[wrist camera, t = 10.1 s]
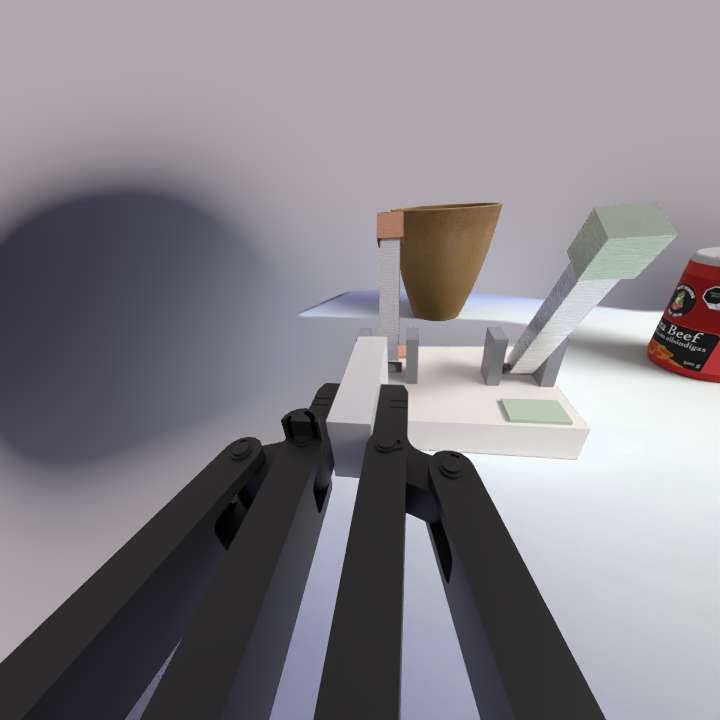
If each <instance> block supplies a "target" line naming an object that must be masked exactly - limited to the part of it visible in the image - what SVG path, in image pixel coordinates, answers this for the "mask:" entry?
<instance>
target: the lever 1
mask: <svg viewBox="0 0 720 720" xmlns="http://www.w3.org/2000/svg"><path fill="white" fill-rule="evenodd" d="M377 241H378V246H379V248H380V289H379V337H387V357H388V361H399V307H400V247H403V243H404V214H403V211H395V212H384V213H377ZM388 372H393V373H402V362H388Z"/></svg>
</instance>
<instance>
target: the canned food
mask: <svg viewBox="0 0 720 720" xmlns="http://www.w3.org/2000/svg"><path fill="white" fill-rule="evenodd" d="M647 353H648V357H649V358H650V359H651V360H652V361H653V362H654V363H656V364H657V365H659V366H661V367H663V368H665V369H667V370H669V371H672V372H675V373H678V374H681V375H684V376H687V377H691V378H695V379H700V380H705V381H711V382H719V383H720V247H718V248H717V247H716V248H706V249H701V250H697V251H695V253H694V254H693V256H692V257H691V259H690V261H689V263H688V265H687V267H686V269H685V270H684V272H683V274H682V276H681V278H680V280H679V283H678V285H677V287H676V289H675V291H674V293H673V295H672V297H671V299H670V301H669V303H668V306H667V307H666V310H665V311H664V314H663V316H662V318H661V320H660V322H659V324H658V326H657V328H656V330H655V332H654V334H653V336H652V338H651V340H650V343H649V345H648V352H647Z"/></svg>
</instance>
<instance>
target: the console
mask: <svg viewBox="0 0 720 720" xmlns="http://www.w3.org/2000/svg"><path fill="white" fill-rule="evenodd" d="M358 337H372V336H371V328H360V330H359V333H358V336H357V338H356V342H357V339H358ZM568 341H569V339H568V338H567V337H566V338H565V339H564V340H563V341H562V342H561V344H560V345H559V346H558V347H557V348H556V349H555V350H554V351H553V352H552V353H551V354H550V355H549V356H548V358H547V359H546V360H545V361H544V362H543V363H542V364H541V365H540V366H539V367H538V368H537V369H536V371H535V372H534V374H533V375H504V374H501V373H502V369H503V364H504V363H507V357H508V356H509V354H510V353H511V351H512V350H513V348H514V347H507V345H508V338H507V337H506V335H505V334H504V332H503V331H502V329H501V328H500V327H488V328H487V333H486V339H485V346H484V347H418V346H419V337H418V328H407V332H406V345H403V346H402V345H399V361H388V362H402V373H393V372H388V384H391V385H404V386H405V388H406V389H407V391H408V440H409V442H410V443H411V445H412V446H413V447H414V448H416V449H418V450H434V451H443V450H450V451H455V452H466V453H481V454H497V455H513V456H529V457H544V458H560V459H576V460H577V458H578V456H579V454H580V451H581V449H582V447H583V445H584V443H585V440H586V438H587V436H588V434H589V431H590V428H589V427H588V425H587V424H586V423H585V421H584V420H583V419H582V417H581V416H580V415H579V413H578V412H577V411H576V410H575V408H574V407H573V406H572V404H571V403H570V402H569V400H568V399H567V398H566V397H565V395H564V394H563V393H562V391H561V390H560V389H559V387H558V386H557V385H556V383H555V381H556V378H557V374H558V371H559V368H560V365H561V362H562V359H563V356H564V353H565V350H566V347H567V344H568Z"/></svg>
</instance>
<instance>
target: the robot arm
mask: <svg viewBox="0 0 720 720" xmlns="http://www.w3.org/2000/svg"><path fill="white" fill-rule="evenodd" d="M281 422H282V426H283V429H284V433H285V436H286V439H285V441H283V442H279V443H275V444H270V445H264V446H262V445H261V443H260V440H258V439H256V438H252V437H246V438H241V439H239V440H236V441H234V442H233V443H231V444H230V445H229V446H227V447H226V448H225V449H224V450H223V451H222V452H221V453H220V454H219V455H218V456H217V457H216V458H215V459H214V460H213V461H212V462H210V463H209V465H207V466H206V467H205V468H204V469H203V470H202V471H201V472H200V473H199V474H198V475H197V476H196V477H195V478H194V479H193V480H192V481H191V482H190V483H189V484H187V485H186V486H185V487H184V488H183V489H182V490H181V491H180V492H179V493H178V494H177V495H176V496H175V497H174V498H173V499H172V500H171V501H170V502H169V503H168V504H167V505H166V506H164V507H163V508H162V509H161V510H160V511H159V512H158V513H157V514H156V515H155V516H154V517H153V518H152V519H151V520H150V521H149V522H148V523H147V524H146V525H145V526H144V527H143V528H141V529H140V530H139V531H138V532H137V533H136V534H135V535H134V536H133V537H132V538H131V539H130V540H129V541H128V542H127V543H126V544H125V545H124V546H123V547H122V548H121V549H120V550H118V551H117V552H116V553H115V554H114V555H113V556H112V557H111V558H110V559H109V560H108V561H107V562H106V563H105V564H104V565H103V566H102V567H101V568H100V569H99V570H98V571H97V572H96V573H94V574H93V575H92V576H91V577H90V578H89V579H88V580H87V581H86V582H85V583H84V584H83V585H82V586H81V587H80V588H79V589H78V590H77V591H76V592H75V593H74V594H72V595H71V596H70V597H69V598H68V599H67V600H66V601H65V602H64V603H63V604H62V605H61V606H60V607H59V608H58V609H57V610H56V611H55V612H54V613H53V614H52V615H51V616H49V617H48V619H46V620H45V621H44V622H43V623H42V624H41V625H40V626H39V627H38V628H37V629H36V630H35V631H34V632H33V633H32V634H31V635H30V636H29V637H28V638H26V639H25V640H24V641H23V642H22V643H21V644H20V645H19V646H18V647H17V648H16V649H15V650H14V651H13V652H12V653H11V654H10V655H9V656H8V657H7V658H6V659H5V660H4V661H2V662H1V663H0V720H125V718H126V717H127V715H128V714H129V712H130V711H131V710H132V708H133V707H134V705H135V704H136V703H137V701H138V700H139V698H140V697H141V695H142V694H143V693H144V691H145V690H146V688H147V687H148V685H149V684H150V683H151V681H152V680H153V678H154V677H155V675H156V674H157V673H158V671H159V670H160V668H161V667H162V666H163V664H164V663H165V661H166V660H167V658H168V657H169V656H170V654H171V653H172V651H173V650H174V648H175V647H176V646H177V644H178V643H179V641H180V640H181V638H182V637H183V638H182V640H181V642H180V643H179V645H178V647H177V649H176V651H175V653H174V655H173V657H172V659H171V661H170V663H169V665H168V667H167V669H166V670H165V672H164V674H163V676H162V678H161V680H160V682H159V684H158V686H157V688H156V690H155V692H154V694H153V696H152V697H151V699H150V701H149V703H148V705H147V707H146V709H145V711H144V713H143V715H142V717H141V719H140V720H269V718H270V714H271V711H272V707H273V703H274V700H275V696H276V692H277V689H278V685H279V681H280V678H281V674H282V670H283V667H284V663H285V659H286V656H287V652H288V648H289V645H290V641H291V637H292V634H293V630H294V626H295V623H296V619H297V615H298V612H299V608H300V604H301V601H302V597H303V593H304V590H305V586H306V582H307V579H308V575H309V571H310V568H311V564H312V560H313V557H314V553H315V549H316V546H317V542H318V538H319V535H320V531H321V527H322V524H323V520H324V516H325V513H326V509H327V505H328V502H329V498H330V494H331V491H332V480H331V476H332V472H333V469H334V470H335V475H336V476H343V477H354V478H360V480H359V485H358V490H357V495H356V501H355V506H354V511H353V516H352V521H351V527H350V532H349V537H348V542H347V548H346V553H345V558H344V563H343V568H342V574H341V579H340V584H339V589H338V594H337V600H336V605H335V610H334V615H333V621H332V626H331V631H330V636H329V641H328V647H327V652H326V657H325V662H324V667H323V673H322V678H321V683H320V688H319V693H318V699H317V704H316V709H315V714H314V720H400V710H401V673H402V635H403V598H404V561H405V524H406V513H408V514H411V515H413V516H415V517H417V518H419V519H421V520H424V521H426V525H427V529H428V533H429V536H430V540H431V543H432V547H433V551H434V554H435V558H436V561H437V565H438V569H439V572H440V576H441V579H442V583H443V587H444V590H445V594H446V597H447V601H448V604H449V608H450V612H451V615H452V619H453V622H454V626H455V630H456V633H457V637H458V640H459V644H460V648H461V651H462V655H463V658H464V662H465V665H466V669H467V673H468V676H469V680H470V683H471V687H472V691H473V694H474V698H475V701H476V705H477V709H478V712H479V716H480V719H481V720H606V719H605V717H604V715H603V713H602V711H601V709H600V707H599V705H598V703H597V701H596V700H595V698H594V696H593V694H592V692H591V690H590V688H589V686H588V684H587V682H586V680H585V678H584V676H583V675H582V673H581V671H580V669H579V667H578V665H577V663H576V661H575V659H574V657H573V655H572V653H571V651H570V650H569V648H568V646H567V644H566V642H565V640H564V638H563V636H562V634H561V632H560V630H559V628H558V627H557V625H556V623H555V621H554V619H553V617H552V615H551V613H550V611H549V609H548V607H547V605H546V603H545V602H544V600H543V598H542V596H541V594H540V592H539V590H538V588H537V586H536V584H535V582H534V580H533V578H532V577H531V575H530V573H529V571H528V569H527V567H526V565H525V563H524V561H523V559H522V557H521V555H520V553H519V552H518V550H517V548H516V546H515V544H514V542H513V540H512V538H511V536H510V534H509V532H508V530H507V528H506V527H505V525H504V523H503V521H502V519H501V517H500V515H499V513H498V511H497V509H496V507H495V505H494V503H493V502H492V500H491V498H490V496H489V494H488V492H487V490H486V488H485V486H484V484H483V482H482V480H481V478H480V477H479V475H478V473H477V471H476V469H475V467H474V465H473V464H472V462H471V461H470V460H469V459H468V458H467V457H466V456H464V455H463V454H461V453H458V452H455V451H450V450H443V451H440V452H436V453H435V454H434V455H433V456H431V455H429V454H426V453H423V452H421V451H419V450H417V449H416V448H414V447H413V446H412V445H411V443H410V442H409V440H408V391H407V389H406V388H405V386H404V385H391V384H388V357H387V337H358V339H357V342H356V345H355V347H354V350H353V353H352V355H351V358H350V360H349V363H348V366H347V368H346V371H345V373H344V376H343V379H342V381H341V384H336V383H335V384H334V383H326V384H324V385H323V386H322V387H321V388H320V389H319V390H318V391H317V394H316V395H315V399H314V400H313V402H312V405H311V406H310V408H309V409H307V408H304V409H297V410H294V411H291V412H290V413H288V414H287V415H285V416H284V417H283V419H282V420H281ZM236 495H237V496H236ZM235 496H236V497H235Z"/></svg>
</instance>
